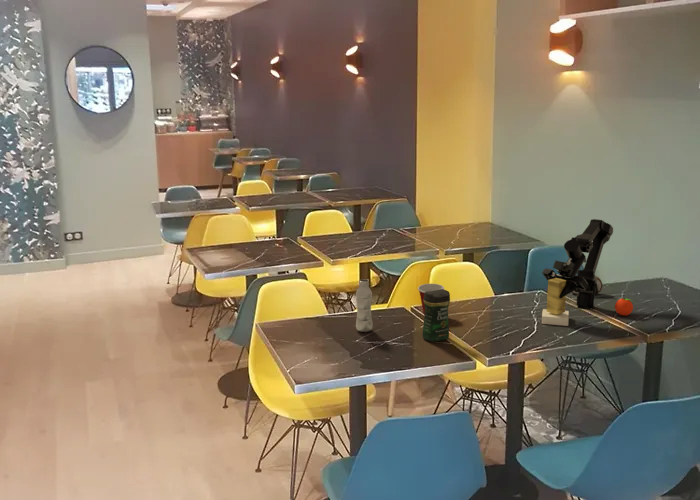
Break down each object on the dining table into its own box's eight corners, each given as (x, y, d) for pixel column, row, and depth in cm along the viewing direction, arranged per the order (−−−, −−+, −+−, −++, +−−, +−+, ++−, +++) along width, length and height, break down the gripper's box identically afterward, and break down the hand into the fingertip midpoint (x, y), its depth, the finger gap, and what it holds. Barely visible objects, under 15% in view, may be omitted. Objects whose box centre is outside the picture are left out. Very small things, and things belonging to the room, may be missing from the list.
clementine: (632, 312, 293) (633, 296, 292) (637, 318, 286) (638, 301, 285) (612, 312, 294) (613, 295, 292) (616, 317, 287) (618, 300, 286)
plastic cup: (413, 317, 289) (414, 289, 287) (421, 310, 299) (422, 282, 296) (440, 320, 285) (440, 291, 283) (446, 312, 295) (447, 284, 292)
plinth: (568, 318, 287) (568, 310, 286) (568, 325, 278) (568, 318, 277) (542, 316, 290) (542, 308, 289) (541, 323, 281) (542, 316, 280)
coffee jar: (431, 343, 259) (432, 294, 255) (419, 337, 266) (419, 289, 262) (452, 339, 264) (454, 291, 260) (440, 333, 271) (441, 286, 267)
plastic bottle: (374, 329, 276) (374, 279, 271) (369, 334, 270) (369, 283, 265) (358, 327, 278) (358, 277, 274) (353, 332, 272) (353, 282, 267)
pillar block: (554, 309, 287) (556, 277, 284) (564, 312, 283) (566, 280, 280) (546, 311, 284) (548, 280, 281) (556, 314, 280) (558, 282, 277)
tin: (600, 293, 321) (602, 275, 320) (602, 295, 318) (603, 277, 317) (566, 292, 323) (567, 274, 321) (568, 294, 320) (569, 276, 318)
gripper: (546, 248, 287) (526, 279, 284) (585, 257, 273) (565, 290, 269) (557, 264, 294) (538, 295, 290) (596, 273, 279) (577, 306, 275)
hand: (554, 296), depth 281 cm, fingers closed on pillar block, 5 cm apart
